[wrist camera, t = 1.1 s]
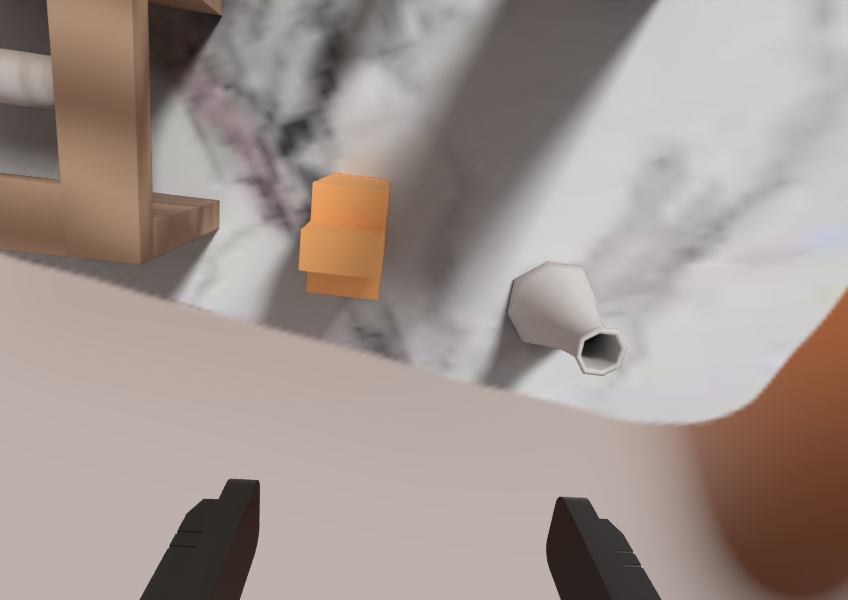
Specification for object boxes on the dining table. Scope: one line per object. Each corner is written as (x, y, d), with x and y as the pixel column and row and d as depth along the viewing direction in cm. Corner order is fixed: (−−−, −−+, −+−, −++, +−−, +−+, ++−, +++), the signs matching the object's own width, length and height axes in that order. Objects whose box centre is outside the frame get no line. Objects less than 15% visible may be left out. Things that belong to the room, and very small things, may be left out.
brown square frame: (-14, -59, 30) (-260, -187, 19) (222, -19, 32) (128, -115, 20) (14, 203, 35) (-171, 231, 23) (219, 228, 36) (140, 264, 25)
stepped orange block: (334, 172, 35) (303, 186, 23) (389, 180, 36) (390, 197, 23) (327, 253, 37) (296, 309, 24) (380, 260, 38) (376, 317, 25)
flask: (511, 352, 41) (549, 414, 31) (501, 268, 39) (538, 308, 29) (597, 336, 41) (660, 394, 31) (591, 252, 39) (657, 286, 29)
